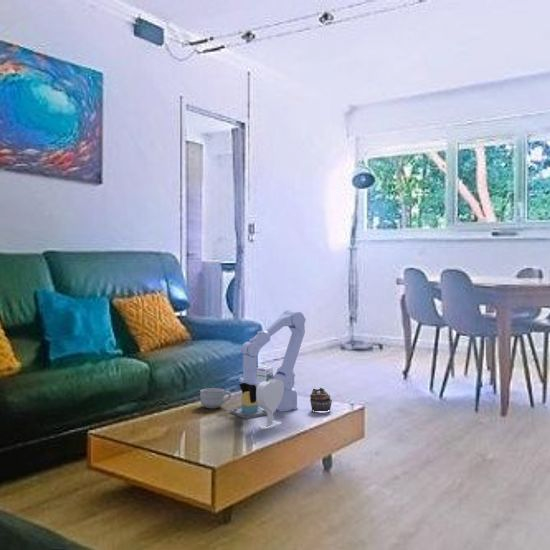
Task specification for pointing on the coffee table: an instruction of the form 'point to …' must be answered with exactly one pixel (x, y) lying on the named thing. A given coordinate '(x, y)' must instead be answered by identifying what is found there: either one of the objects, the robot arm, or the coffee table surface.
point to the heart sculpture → (270, 397)
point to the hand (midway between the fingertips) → (249, 401)
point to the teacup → (213, 397)
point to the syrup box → (264, 373)
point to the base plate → (248, 415)
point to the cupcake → (320, 400)
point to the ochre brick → (247, 399)
